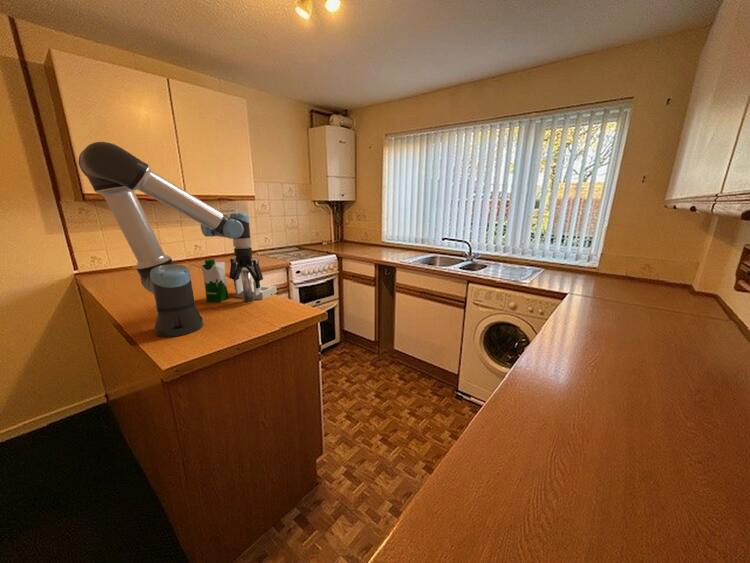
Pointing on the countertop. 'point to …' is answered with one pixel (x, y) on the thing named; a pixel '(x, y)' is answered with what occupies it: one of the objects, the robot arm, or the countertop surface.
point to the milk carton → (214, 280)
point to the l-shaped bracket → (263, 290)
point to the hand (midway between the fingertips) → (248, 293)
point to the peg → (247, 285)
